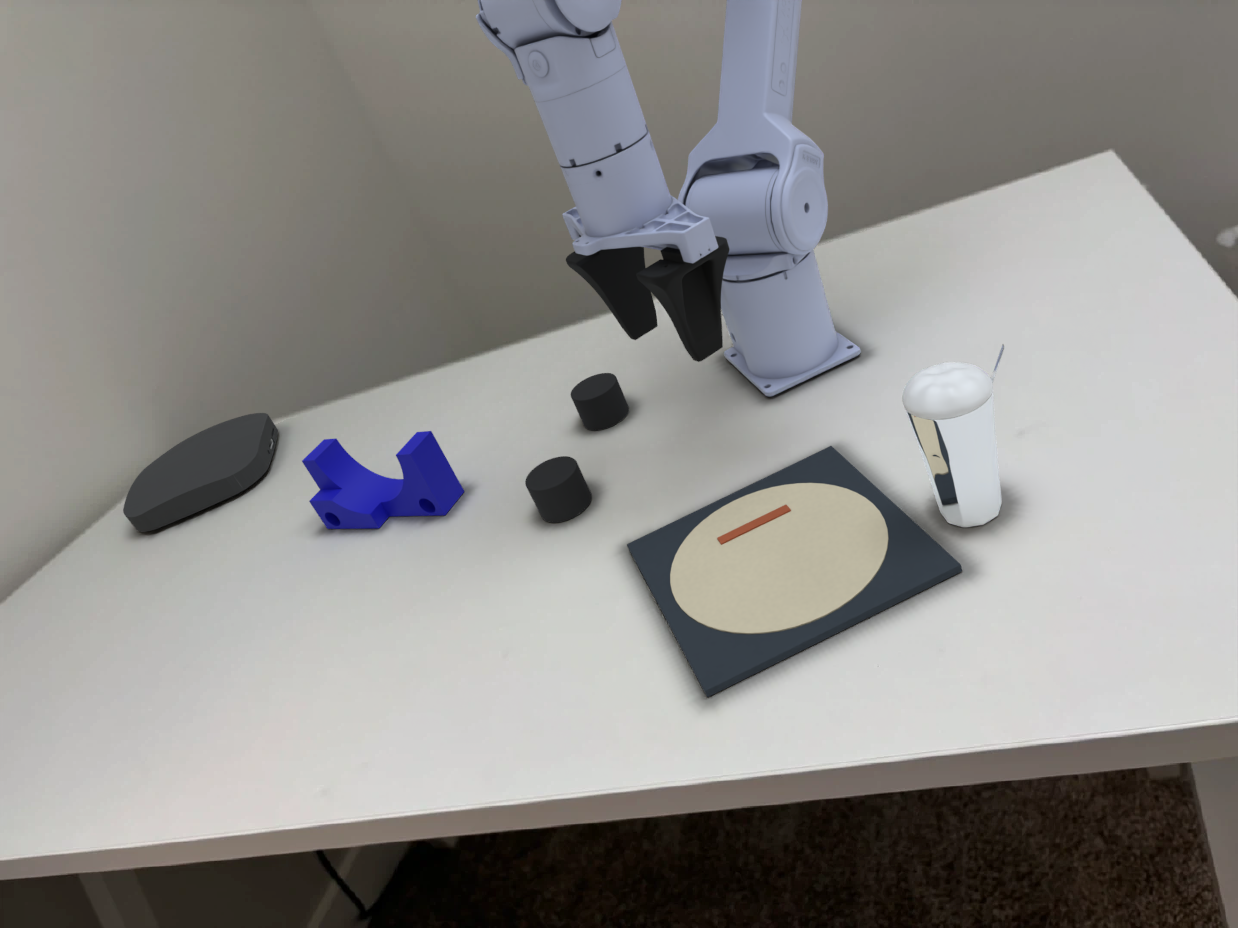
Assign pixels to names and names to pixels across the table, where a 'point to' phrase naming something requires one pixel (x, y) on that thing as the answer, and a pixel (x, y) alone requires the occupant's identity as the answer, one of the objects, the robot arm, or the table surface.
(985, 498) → the milkshake
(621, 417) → the dot
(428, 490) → the cable clip
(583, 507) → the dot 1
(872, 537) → the board
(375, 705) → the table surface
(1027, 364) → the table surface
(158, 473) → the media streaming box
